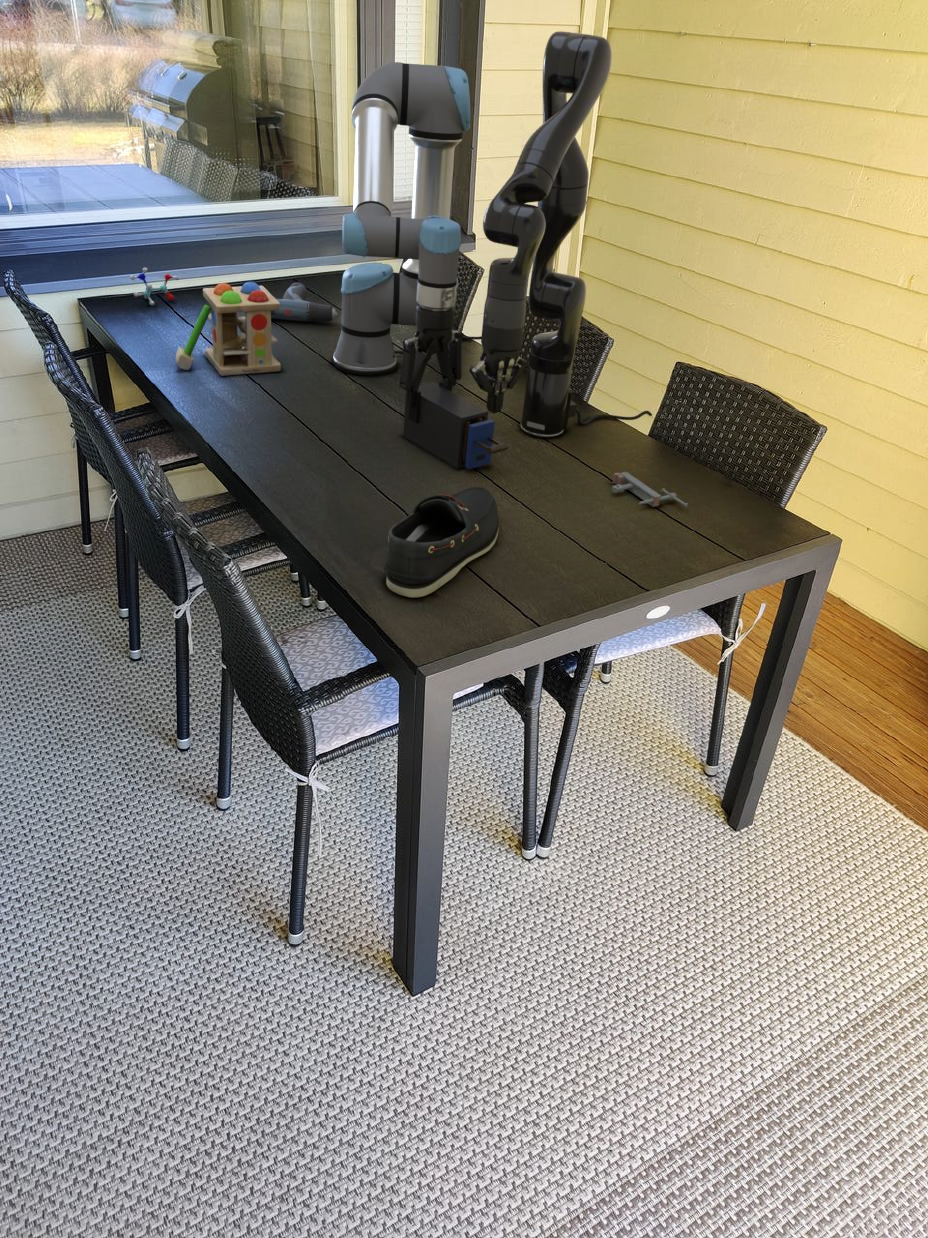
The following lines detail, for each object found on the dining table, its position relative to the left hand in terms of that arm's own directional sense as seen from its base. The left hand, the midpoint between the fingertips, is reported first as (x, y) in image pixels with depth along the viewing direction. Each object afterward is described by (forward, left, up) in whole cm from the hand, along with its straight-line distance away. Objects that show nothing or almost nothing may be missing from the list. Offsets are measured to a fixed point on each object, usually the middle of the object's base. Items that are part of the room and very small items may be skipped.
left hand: (428, 416), depth 202 cm
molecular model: (+4, -108, -5) cm, 109 cm away
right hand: (+1, +19, +8) cm, 21 cm away
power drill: (-26, -81, -5) cm, 85 cm away
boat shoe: (+28, +37, -5) cm, 47 cm away
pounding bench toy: (+13, -57, -5) cm, 59 cm away
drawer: (+1, +11, -4) cm, 12 cm away
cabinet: (0, +5, -5) cm, 7 cm away
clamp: (-18, +44, -5) cm, 47 cm away
